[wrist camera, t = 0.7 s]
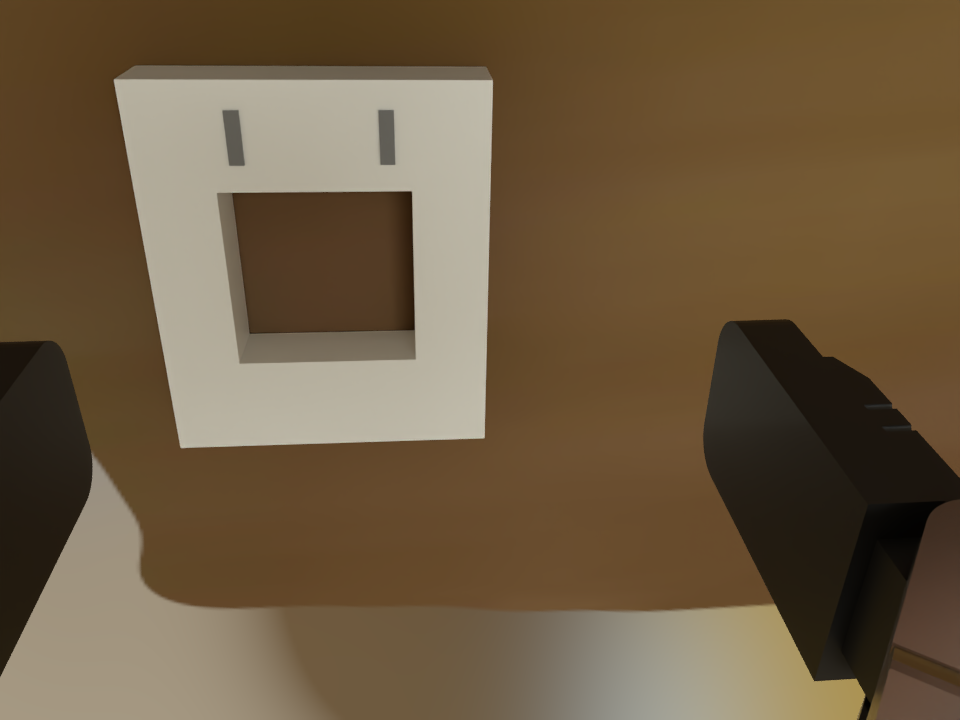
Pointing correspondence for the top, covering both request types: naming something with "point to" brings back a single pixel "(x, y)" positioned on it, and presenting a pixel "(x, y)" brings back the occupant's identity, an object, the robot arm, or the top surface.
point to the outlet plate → (313, 168)
